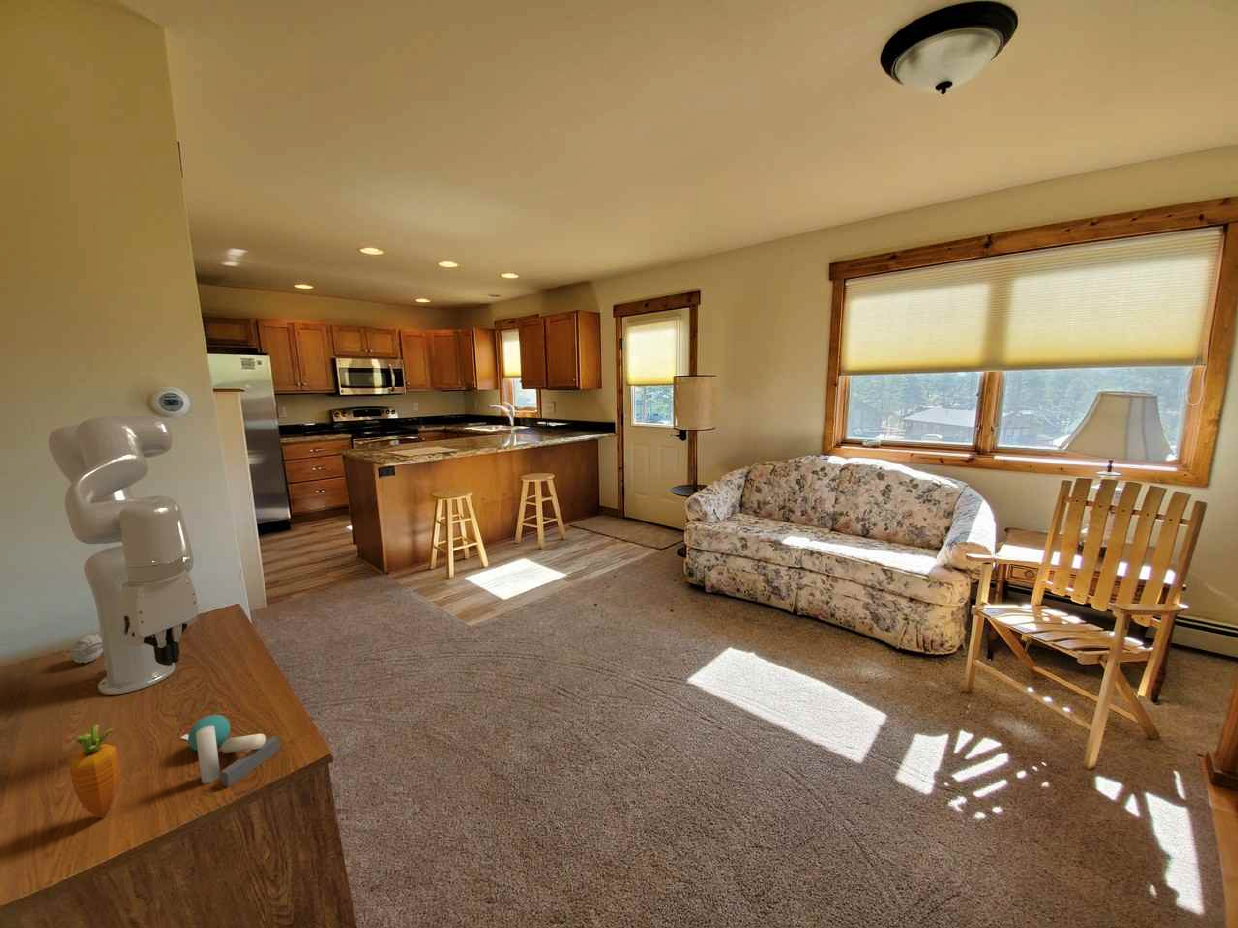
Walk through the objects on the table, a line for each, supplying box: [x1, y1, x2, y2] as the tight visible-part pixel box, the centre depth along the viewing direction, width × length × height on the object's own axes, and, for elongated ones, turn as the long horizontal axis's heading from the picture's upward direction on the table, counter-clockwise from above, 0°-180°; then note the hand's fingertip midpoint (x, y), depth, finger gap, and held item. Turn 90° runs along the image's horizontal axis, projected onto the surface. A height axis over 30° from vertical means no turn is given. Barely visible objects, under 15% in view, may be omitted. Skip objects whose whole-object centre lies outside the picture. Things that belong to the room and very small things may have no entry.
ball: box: [187, 714, 231, 752], centre depth 89 cm, size 6×6×6 cm
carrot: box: [69, 724, 120, 819], centre depth 74 cm, size 5×5×15 cm
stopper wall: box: [220, 735, 281, 788], centre depth 85 cm, size 2×9×2 cm, turn 163°
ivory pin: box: [220, 733, 267, 754], centre depth 87 cm, size 2×2×9 cm
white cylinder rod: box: [196, 726, 221, 784], centre depth 82 cm, size 2×2×9 cm
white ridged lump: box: [68, 634, 104, 664], centre depth 117 cm, size 6×7×7 cm
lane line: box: [179, 733, 189, 742], centre depth 91 cm, size 9×1×1 cm, turn 73°
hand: (168, 662), depth 91 cm, fingers closed
